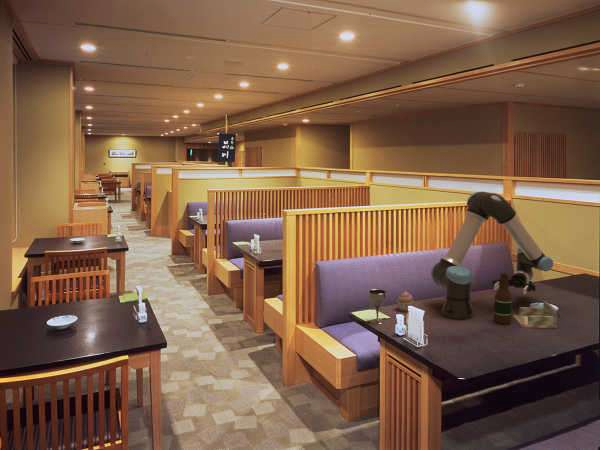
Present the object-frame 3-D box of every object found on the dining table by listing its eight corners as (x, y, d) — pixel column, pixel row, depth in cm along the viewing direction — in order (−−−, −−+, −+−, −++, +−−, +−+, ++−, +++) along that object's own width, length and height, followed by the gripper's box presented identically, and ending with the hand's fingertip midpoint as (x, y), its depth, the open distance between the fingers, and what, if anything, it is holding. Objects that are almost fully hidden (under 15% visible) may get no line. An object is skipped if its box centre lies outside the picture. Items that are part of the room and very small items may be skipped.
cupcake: (410, 306, 251) (411, 288, 249) (417, 312, 242) (417, 293, 240) (393, 307, 250) (394, 289, 248) (399, 313, 240) (399, 294, 239)
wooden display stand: (521, 327, 218) (522, 310, 216) (512, 317, 231) (513, 300, 230) (556, 328, 216) (557, 310, 215) (545, 317, 229) (546, 301, 228)
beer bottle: (513, 325, 221) (515, 275, 217) (495, 324, 222) (497, 274, 219) (509, 319, 228) (511, 271, 225) (492, 318, 230) (494, 270, 226)
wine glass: (381, 325, 224) (382, 294, 222) (366, 322, 229) (366, 292, 226) (388, 320, 231) (388, 290, 229) (373, 317, 235) (373, 288, 233)
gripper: (545, 289, 241) (536, 301, 224) (494, 283, 256) (482, 293, 239) (546, 275, 239) (537, 285, 223) (495, 269, 254) (483, 278, 238)
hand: (509, 289), depth 231 cm, fingers open, 13 cm apart
